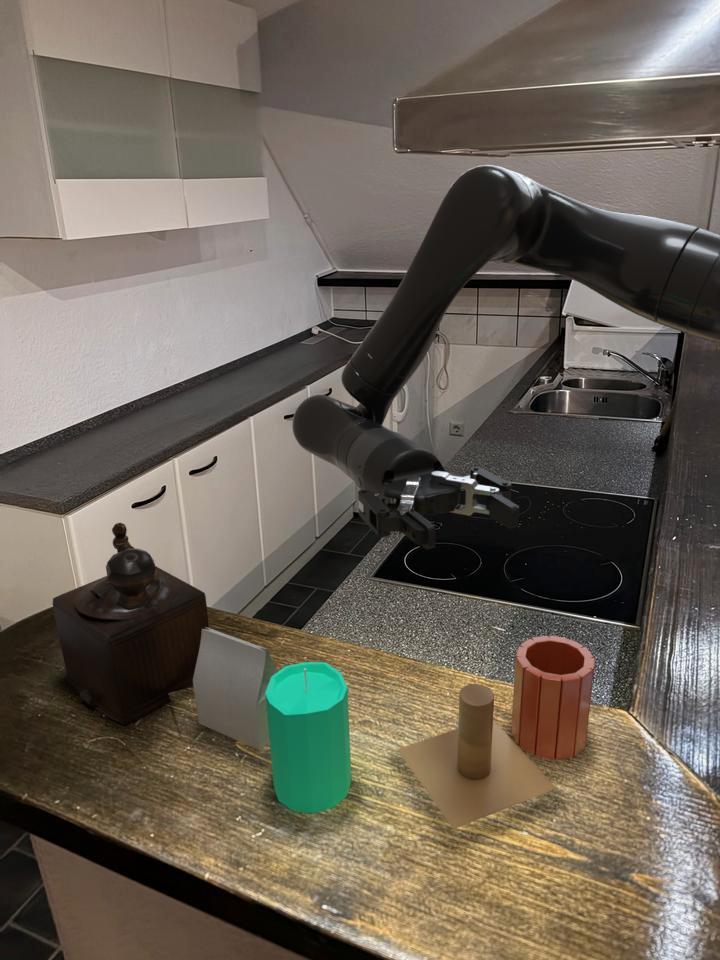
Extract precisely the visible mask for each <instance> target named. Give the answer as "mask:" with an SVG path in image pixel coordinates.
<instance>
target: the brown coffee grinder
mask: <svg viewBox="0 0 720 960" xmlns="http://www.w3.org/2000/svg"><path fill="white" fill-rule="evenodd" d="M127 531H128V529H127V526H126V524H125V523H123V522H117V523H114V525H113V527H112V528H111V532H112V534H113V536H114V538H113V540H112V546H113V548H114V549H115V550H116V551H117V552H116V553H115V554H112V556H111V557H110V558H109V560H107V562H106V565H105V570H106V575H104V576H102V577H101V578H98V579H96V580H92V581H91V582H89V583H86V584H83V585H81V586H79V587H76V588H74V589H71V590H68V591H67V592H64V593H62V594H59V595H57V596H55V597H53V598H52V609H53V614H54V619H55V623H56V629H57V633H58V638H59V643H60V648H61V652H62V657H63V663H64V665H65V666H64V667H65V671H66V683H67V685H69V686H70V687H71V688H72V689H73V690H74V691H75V692H76V693H77V694H78V695H79V698H80V699H81V701H83V702H84V703H85V704H87V705H89V706H90V707H92V708H93V709H95V710H97V711H99V712H100V713H102V714H103V715H104V716H106V717H107V718H109V719H110V720H112V721H115V722H117V723H119V724H121V725H124V726H126V725H128V724H130V723H133V722H135V721H137V720H139V719H142V718H144V717H146V716H148V715H150V714H153V713H154V712H156V711H158V710H159V709H161V708H163V707H164V706H166V705H168V704H170V703H171V702H172V700H171V697H170V694H171V693H174V692H179V691H183V690H186V689H189V688H194V686H193V677H194V672H195V668H196V663H197V658H198V654H199V649H200V643H201V635H202V629H205V627H207V628H210V625H209V613H208V606H207V597H206V593H205V592H204V591H202V590H200V589H198V588H197V587H195V586H193V585H192V584H189V583H188V582H186V581H184V580H183V579H181V578H178V577H176V576H174V575H173V574H171V573H170V572H167V571H165V570H163V569H162V568H160V567H158V566H157V565H156V563H155V560H154V559H153V557H152V555H151V554H150V553H149V552H148V551H147V550H144V549H141V548H135V547H134V546H132V544H131V543H130V541H129V536H128V535H127Z"/></svg>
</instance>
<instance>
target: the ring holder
mask: <svg viewBox="0 0 720 960" xmlns="http://www.w3.org/2000/svg"><path fill="white" fill-rule="evenodd" d="M494 711H495V693H494V692H493V690H492V689H491V688H489V686H487V685H484V684H480V683H471V684H467V685H464V686H463V687H461V689H460V690H459V692H458V719H457V720H458V721H457V722H458V725H457V728H455V729H452V730H449V731H447V732H442V733H441V734H438V735H435V736H431V737H429V738H427V739H426V738H425V739H423V740H419V741H416V742H414V743H411V744H408V745H405V746H402V747H400V748H397V752H398V753H399V754H400V756H401V757H402V759H403V760H404V761H405V763H406V764H407V766H408V767H409V769H410V770H411V772H412V773H413V774H414V775H415V777H416V778H417V780H418V782H419V783H420V784H421V785H422V787H423V789H424V790H425V791H426V793H427V794H428V796H429V797H430V799H431V800H432V801H433V802H434V804H435V806H436V807H437V808H438V809H439V811H440V812H441V814H442V815H443V817H444V818H445V820H446V821H447V823H448V824H449V826H450V827H451V828H452V830H455V829H458V828H461V827H463V826H466V825H469V824H470V823H474V822H475V821H478V820H480V819H483V818H486V817H488V816H492V815H493V814H496V813H498V812H501V811H504V810H506V809H509V808H511V807H514V806H516V805H518V804H521V803H523V802H526V801H529V800H531V799H534V798H536V797H539V796H541V795H544V794H546V793H549V792H551V791H554V790H556V789H557V787H556V786H555V785H554V783H552V782H551V780H550V779H549V778H548V777H547V776H546V775H545V774H544V773H543V772H542V771H541V770H540V768H538V766H537V765H536V764H535V763H534V762H533V761H532V760H531V758H529V756H528V755H526V753H525V752H524V751H523V749H522V748H521V747H520V746H519V745H518V744H517V743H516V742H515V741H514V740H513V739H512V738H511V737H510V736H509V735H508V733H506V732H505V731H504V730H503V728H502V727H501V726H500V725H499V724H498V723H497V722H496V721H495V720H494Z"/></svg>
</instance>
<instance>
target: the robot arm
mask: <svg viewBox="0 0 720 960" xmlns="http://www.w3.org/2000/svg"><path fill="white" fill-rule="evenodd" d="M489 262H493V263H503V264H511V265H518V266H522V267H525V268H526V267H527V268H531V269H535V270H539V271H543V272H547V273H551V274H555V275H559V276H561V277H565V278H567V279H570V280H572V281H575V282H577V283H579V284H581V285H583V286H586V288H589V289H590V290H592V291H594V292H595V293H597V294H599V295H600V296H601V297H603V298H605V299H607V300H609V301H610V302H612V303H614V304H615V305H617V306H619V307H621V308H623V309H625V310H627V311H629V312H631V313H633V314H635V315H637V316H639V317H641V318H644V319H646V320H648V321H651V322H653V323H656V324H658V325H662V326H665V327H667V328H670V329H673V330H675V331H678V332H681V333H684V334H687V335H689V336H691V337H695V338H698V339H702V340H705V341H709V342H713V343H719V344H720V233H719V232H716V231H713V230H712V231H711V230H709V229H706V228H702V227H699V226H696V225H692V224H687V223H683V222H679V221H675V220H670V219H664V218H659V217H655V216H654V217H653V216H647V215H639V214H632V213H624V212H615V211H611V210H606V209H601V208H598V207H595V206H592V205H589V204H587V203H584V202H582V201H580V200H577V199H574V198H573V197H569V196H567V195H564V194H562V193H560V192H558V191H555V190H553V189H551V188H549V187H547V186H545V185H542V184H540V183H538V182H537V181H535V180H533V179H531V178H530V177H528V176H526V175H524V174H522V173H519V172H516V171H514V170H511V169H508V168H505V167H502V166H498V165H493V164H483V165H477V166H474V167H472V168H469V169H467V170H466V171H465V172H463V173H461V174H460V175H459V177H458V178H456V179H455V181H454V182H453V183H452V184H451V186H450V187H449V188H448V190H447V192H446V194H445V195H444V197H443V198H442V200H441V203H440V205H439V207H438V209H437V211H436V213H435V214H434V216H433V219H432V220H431V223H430V225H429V227H428V230H427V231H426V233H425V235H424V237H423V240H422V241H421V244H420V246H419V248H418V249H417V251H416V254H415V255H414V257H413V258H412V261H411V263H410V265H409V266H408V268H407V271H406V272H405V275H404V276H403V278H402V280H401V281H400V283H399V285H398V287H397V288H396V290H395V292H394V294H393V296H392V297H391V299H390V300H389V302H388V303H387V305H386V307H385V308H384V310H383V312H382V313H381V314H380V316H379V318H378V319H377V320H376V322H375V323H374V325H373V326H372V328H371V329H370V330H369V332H368V333H367V334H366V336H365V338H364V339H363V340H362V341H361V343H360V344H359V346H358V348H357V349H356V350H355V352H354V353H353V354H352V356H351V357H350V359H349V360H348V361H347V363H346V364H345V365H344V367H343V369H342V372H341V376H340V378H341V379H340V380H341V384H342V387H343V388H344V389H345V391H346V392H347V393H348V394H349V395H350V396H351V398H353V399H354V400H355V401H357V402H358V405H356V406H354V405H351V404H348V403H346V402H343V401H341V400H339V399H336V398H334V397H331V396H328V395H325V394H314V395H311V396H308V397H307V398H306V399H304V400H303V401H301V402H300V403H299V405H298V406H297V407H296V409H295V411H294V413H293V417H292V422H291V423H292V424H291V425H292V434H293V436H294V438H295V440H296V443H297V444H298V445H299V446H300V447H301V448H302V449H303V450H304V451H306V452H308V453H310V454H311V455H313V456H315V457H317V458H319V459H321V460H323V461H325V462H327V463H329V464H331V465H333V466H335V467H336V468H338V469H339V470H341V471H342V472H343V473H344V474H345V475H346V476H347V477H348V478H350V480H352V481H353V482H354V483H355V484H356V486H357V487H358V488H359V490H358V491H357V499H358V501H357V502H358V516H359V517H360V518H361V520H362V521H364V522H365V524H366V525H367V526H368V527H369V528H370V529H371V530H372V531H373V532H374V533H375V534H376V536H378V537H379V538H387V537H390V536H391V532H397V535H398V536H402V537H407V538H408V539H409V540H410V541H412V543H414V544H415V545H417V546H421V547H423V549H425V550H431V549H434V548H436V542H437V541H436V540H437V539H436V534H437V533H436V527H435V525H434V524H433V523H432V522H430V521H429V520H428V519H426V518H428V517H432V516H435V515H439V514H445V513H452V514H456V515H462V516H467V517H468V516H469V517H470V516H472V515H473V514H474V513H477V514H484V515H488V517H490V518H491V519H493V520H494V521H495V522H497V523H499V524H500V525H501V526H502V527H504V528H506V529H508V530H513V529H517V528H518V527H519V523H520V505H518V504H517V503H515V502H513V501H511V496H512V495H511V493H512V482H510V481H508V480H506V479H504V478H503V477H500V476H498V475H496V474H494V473H492V472H491V471H488V470H486V469H484V468H483V467H481V466H472V467H470V468H469V475H465V476H460V475H458V474H456V473H451V472H447V471H446V469H445V468H444V466H443V465H442V462H441V460H439V458H438V457H437V456H436V455H435V453H433V452H431V450H430V451H429V450H428V449H426V448H425V447H423V446H421V445H419V444H418V443H416V442H415V441H414V440H411V439H410V438H408V437H407V436H406V435H403V434H401V433H399V432H397V431H393V430H390V429H389V428H388V427H386V426H384V425H383V424H384V422H385V419H386V418H387V415H388V413H389V410H390V408H391V406H392V404H393V401H394V399H396V397H397V396H398V395H399V393H400V392H401V390H403V389H404V387H405V385H406V384H407V383H408V382H409V380H410V379H411V378H412V376H413V375H414V373H416V371H417V370H418V368H419V367H420V365H421V364H422V362H424V359H425V358H426V356H427V354H428V352H429V350H430V348H431V346H432V344H433V342H434V340H435V337H436V335H437V332H438V331H439V327H440V324H441V323H442V320H443V319H444V316H445V314H446V312H447V311H448V309H449V307H450V306H451V304H452V303H453V301H454V299H455V298H457V295H459V293H460V292H461V291H462V289H463V288H464V287H465V285H466V284H468V282H469V281H471V279H472V278H473V277H474V276H475V275H476V274H477V273H478V272H479V271H481V269H483V267H484V266H486V265H487V264H488V263H489ZM463 490H464V491H465V497H464V498H465V499H464V501H465V503H464V504H463V503H460V501H461V498H462V497H461V496H462V491H463ZM478 497H479V498H481V499H483V500H484V501H485V503H480V502H478Z"/></svg>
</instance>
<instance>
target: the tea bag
mask: <svg viewBox="0 0 720 960" xmlns="http://www.w3.org/2000/svg"><path fill="white" fill-rule="evenodd" d="M270 653H271V652H270V650H269V648H265V647H263V646H260V645H257V644H254V643H251V642H249V641H246V640H244V639H240V638H239V637H236V636H232V635H230V634H227V633H224V632H221V631H218V630H215V629H213V628H210V627H209V628H207V627H205V629H202V635H201V643H200V649H199V654H198V658H197V663H196V668H195V672H194V677H193V692H194V701H195V707H196V716H197V723H198V724H199V725H201V726H204V727H206V728H208V729H211V730H212V731H215V732H217V733H218V734H222V735H224V736H226V737H228V738H231V739H233V740H235V741H238V742H239V743H242V744H244V745H247V746H249V747H251V748H253V749H256V750H258V751H262V750H263V749H264V748H265V747H266V746H267V745H268V744H270V741H269V730H268V719H267V709H266V698H265V693H266V690H267V687H268V684H269V681H270V679H271V677H272V676H273V675H274V674H276V673H277V672H279V670H278V669H277V666H276V665H275V663H274V661H273V659H272V656H271V654H270Z"/></svg>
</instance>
